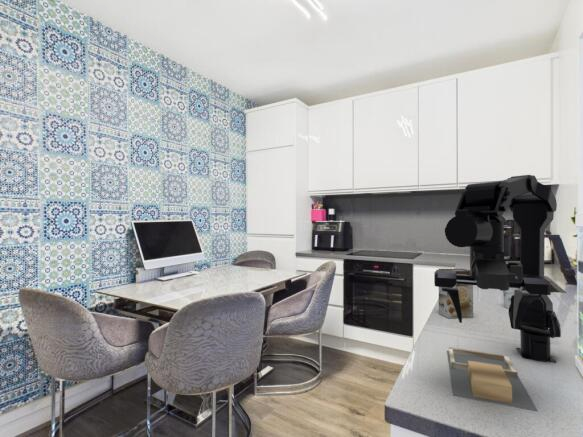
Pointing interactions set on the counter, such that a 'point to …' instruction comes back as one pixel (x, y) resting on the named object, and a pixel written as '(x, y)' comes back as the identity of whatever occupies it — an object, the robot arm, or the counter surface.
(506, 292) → the ink box
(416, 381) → the counter surface
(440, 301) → the coffee box
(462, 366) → the frame
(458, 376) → the mat
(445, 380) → the counter surface
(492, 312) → the counter surface
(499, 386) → the tile
